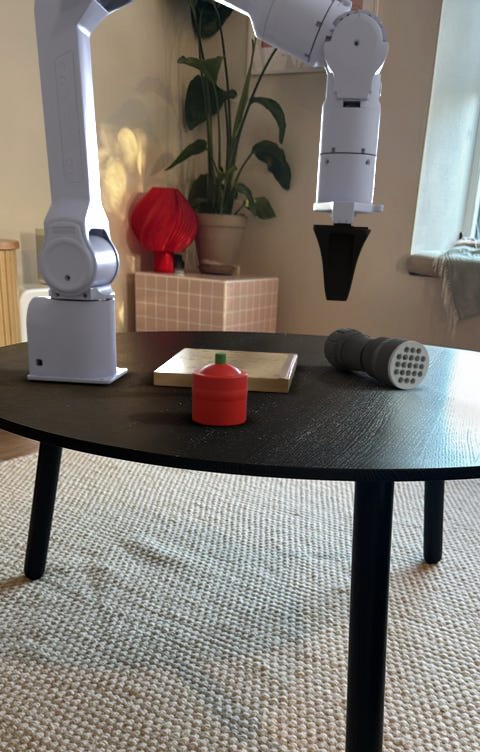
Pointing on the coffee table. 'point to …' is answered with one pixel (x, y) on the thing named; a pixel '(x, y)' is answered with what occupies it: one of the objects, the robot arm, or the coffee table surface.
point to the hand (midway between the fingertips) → (336, 297)
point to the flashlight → (378, 357)
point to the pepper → (219, 394)
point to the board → (261, 367)
